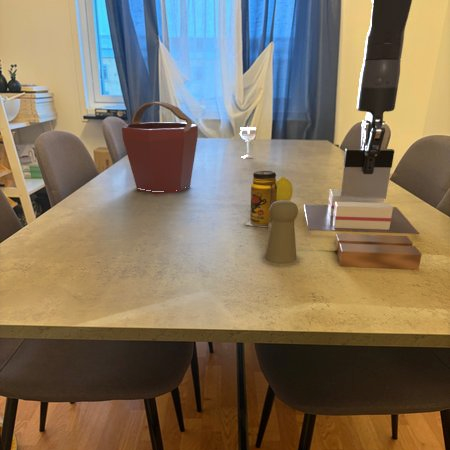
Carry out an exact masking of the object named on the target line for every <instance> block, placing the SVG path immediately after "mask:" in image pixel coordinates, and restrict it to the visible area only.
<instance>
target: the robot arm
mask: <svg viewBox="0 0 450 450" xmlns="http://www.w3.org/2000/svg"><path fill="white" fill-rule="evenodd" d="M371 3H372V9H371V17H370V26H369V29H368V32H367V35H366V39H365V46H364V56H363V63H362V67H361V70H360V71H361V72H360V77H359V86H358V93H357V103H356V110H357V111H358V112H363V113H365V112H366V114H365V119H363V120H362V123H361V139H360V149H365V152H364V154H365V157H364V165H363V173H364V174H373V172H374V165H375V158H376V156H377V154H379V153H380V149H382V144H383V140H384V136H385V133H386V128H385V126H386V121H385V120H384V113H385V112H387V113H388V112H393V111H394V110H395V109H396V102H397V95H398V89H399V82H400V77H401V76H400V75H401V61H402V60H401V59H402V56H403V55H402V54H403V48H404V47H403V46H404V40H405V31H406V26H407V22H408V18H409V15H410V11H411V7H412V6H411V5H412V3H413V0H371Z"/></svg>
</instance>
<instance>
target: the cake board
mask: <svg viewBox="0 0 450 450" xmlns="http://www.w3.org/2000/svg"><path fill="white" fill-rule="evenodd" d="M303 207H304V212H305V218H306V226H307V229H308V231H321V232H323V231H324V232H351V233H352V232H353V233H381V234H405V235H406V234H408V235H409V234H410V235H420V232H419V231H418V230H417V229H416V227H414V226H413V224H411V222H410V221H409V220H408V219H407V218H406V217H405V215H404V214H403V212H401V211H400V210H399V208H397V206H392V207H393V211H392V217H391V222H390V228H389V230H383V229H354V228H335V227H334V225H333V216H330V213H329V210H328V204H303Z"/></svg>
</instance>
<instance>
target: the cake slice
mask: <svg viewBox="0 0 450 450" xmlns="http://www.w3.org/2000/svg"><path fill="white" fill-rule="evenodd" d="M393 207H394V206H392V205H391V204H390V203H389V202H383V203H365V202H335V208H334V214H333V215H334V216H333V225H334V227H335V228H354V229H383V230H389V228H390V222H391V217H392V211H393Z"/></svg>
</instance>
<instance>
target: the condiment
mask: <svg viewBox="0 0 450 450" xmlns="http://www.w3.org/2000/svg"><path fill="white" fill-rule="evenodd" d="M276 177H277V174H276V172H275V171H273V170H257V171H254V172H253V173H252V183H251V186H250V218H249V219H250V220H248V221H247V222H246V223H244V225H246V226H252V227H258V228H259V227H260V228H269V224H270V223H272V218H271V216H270V207H271V205H272V203H274V202H276V198H277V185H276V180H277V179H276Z"/></svg>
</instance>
